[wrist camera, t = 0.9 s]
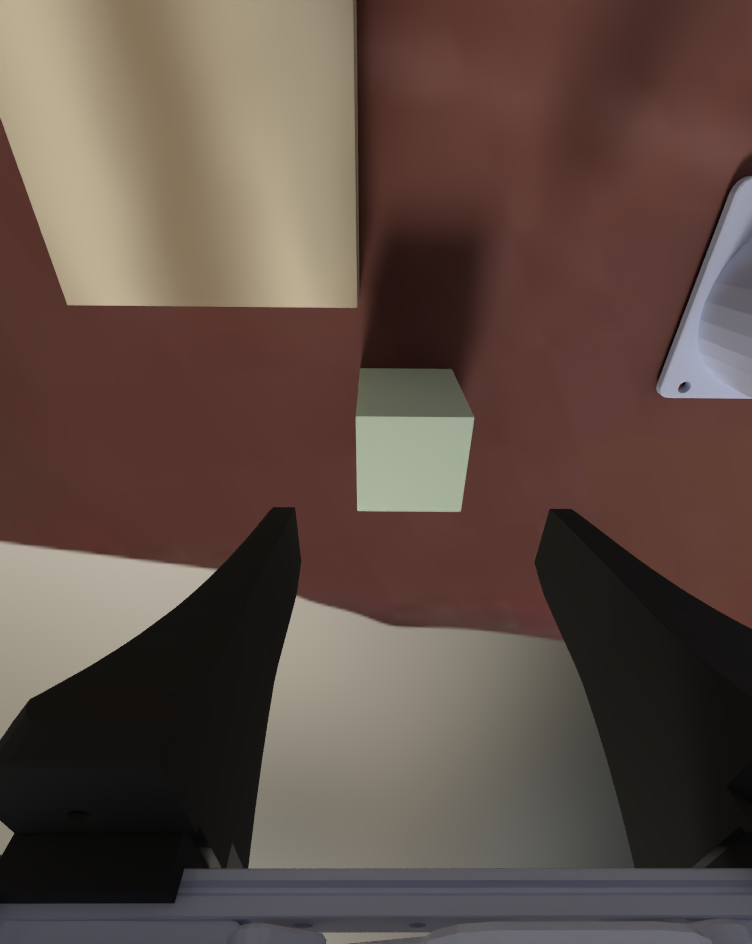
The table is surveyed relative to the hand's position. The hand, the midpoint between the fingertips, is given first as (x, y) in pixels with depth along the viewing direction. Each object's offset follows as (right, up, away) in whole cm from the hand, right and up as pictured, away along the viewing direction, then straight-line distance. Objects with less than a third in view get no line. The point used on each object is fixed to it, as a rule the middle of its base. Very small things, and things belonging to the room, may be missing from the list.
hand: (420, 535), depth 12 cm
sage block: (0, +5, +7) cm, 9 cm away
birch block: (-7, +13, +2) cm, 15 cm away
